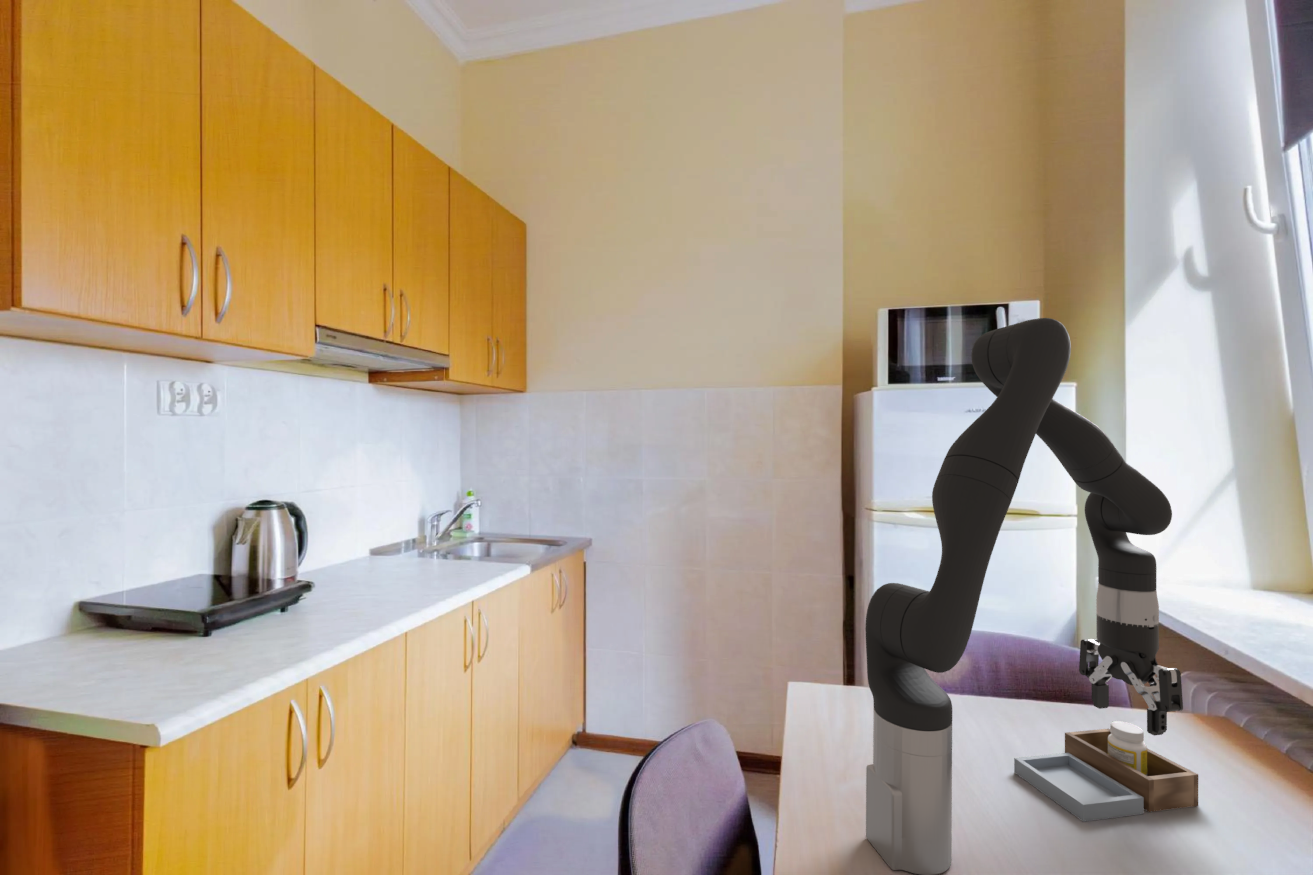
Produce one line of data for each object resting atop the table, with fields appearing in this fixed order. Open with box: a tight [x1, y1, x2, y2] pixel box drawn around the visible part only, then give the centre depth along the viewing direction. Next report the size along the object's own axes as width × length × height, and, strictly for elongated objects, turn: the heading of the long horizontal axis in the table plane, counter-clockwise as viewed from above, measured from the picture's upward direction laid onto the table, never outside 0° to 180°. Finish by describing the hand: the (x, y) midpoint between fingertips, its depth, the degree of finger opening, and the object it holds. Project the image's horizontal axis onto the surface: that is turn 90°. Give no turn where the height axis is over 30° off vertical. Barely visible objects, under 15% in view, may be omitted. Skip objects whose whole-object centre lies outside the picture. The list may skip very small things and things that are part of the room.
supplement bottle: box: [1108, 720, 1148, 776], centre depth 89 cm, size 5×5×8 cm
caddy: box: [1064, 728, 1199, 813], centre depth 89 cm, size 9×14×4 cm, turn 11°
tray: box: [1013, 752, 1144, 823], centre depth 86 cm, size 10×12×2 cm
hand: (1127, 719), depth 89 cm, fingers open, 8 cm apart
